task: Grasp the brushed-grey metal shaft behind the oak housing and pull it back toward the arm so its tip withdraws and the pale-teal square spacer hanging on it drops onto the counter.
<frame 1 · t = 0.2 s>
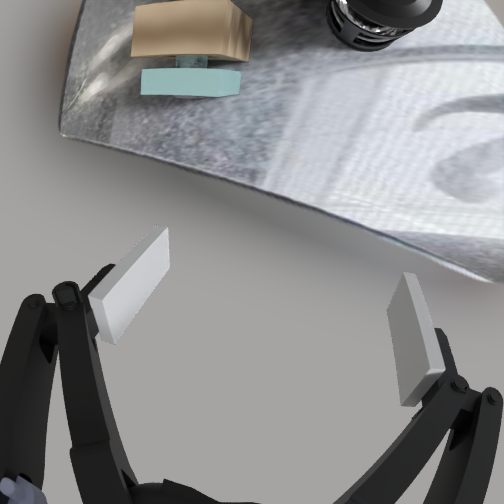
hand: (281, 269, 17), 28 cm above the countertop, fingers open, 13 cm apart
shaft: (196, 12, 26), point 7 cm above the countertop, slide at 0.0 cm, touching spacer
spacer: (206, 80, 36), point 1 cm above the countertop, touching shaft
housing: (213, 39, 34), on the countertop
french press: (365, 16, 28), on the countertop
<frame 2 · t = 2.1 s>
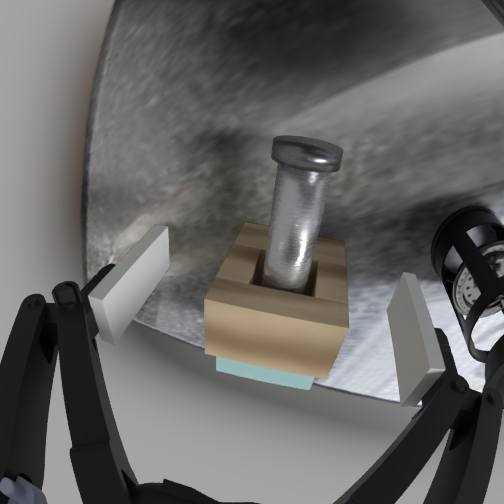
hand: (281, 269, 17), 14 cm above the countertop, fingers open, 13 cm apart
shaft: (285, 276, 25), point 7 cm above the countertop, slide at 0.0 cm, touching spacer
spacer: (279, 308, 34), point 1 cm above the countertop, touching shaft
housing: (289, 257, 32), on the countertop
french press: (471, 242, 27), on the countertop
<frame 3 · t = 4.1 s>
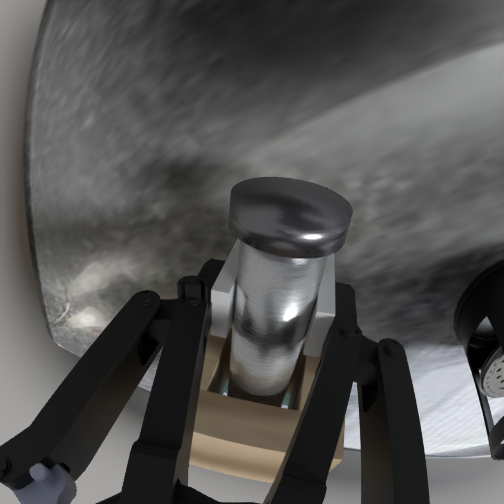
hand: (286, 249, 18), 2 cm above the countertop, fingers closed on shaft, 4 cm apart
shaft: (260, 371, 17), point 7 cm above the countertop, slide at 0.0 cm, touching gripper, spacer
housing: (272, 322, 24), on the countertop
french press: (503, 300, 19), on the countertop
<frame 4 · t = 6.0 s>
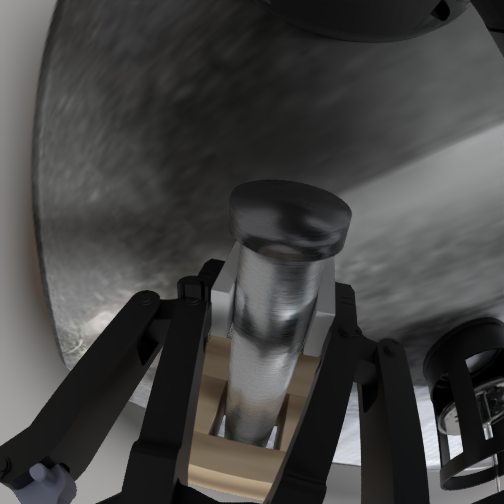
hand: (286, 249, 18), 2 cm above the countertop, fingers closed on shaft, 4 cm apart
shaft: (260, 373, 17), point 7 cm above the countertop, slide at 5.9 cm, touching gripper
housing: (263, 367, 28), on the countertop
french press: (471, 350, 22), on the countertop
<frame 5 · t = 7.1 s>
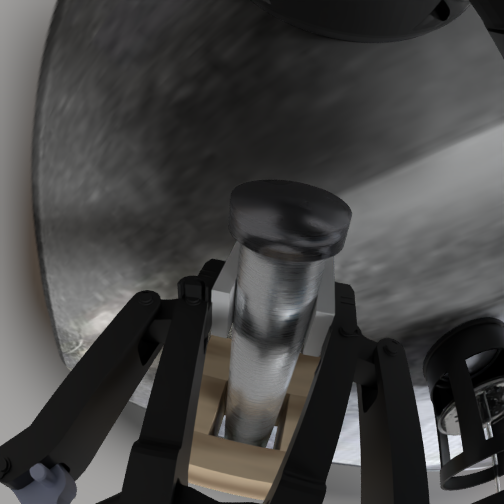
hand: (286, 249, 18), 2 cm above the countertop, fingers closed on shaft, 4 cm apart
shaft: (260, 373, 17), point 7 cm above the countertop, slide at 5.9 cm, touching gripper
housing: (263, 367, 28), on the countertop
french press: (471, 350, 22), on the countertop
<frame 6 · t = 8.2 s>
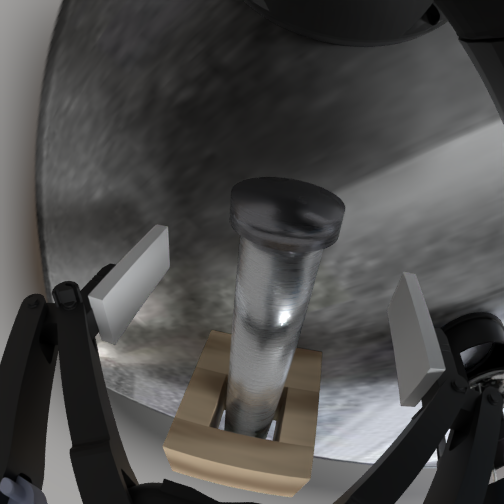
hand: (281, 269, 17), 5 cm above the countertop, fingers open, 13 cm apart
shaft: (259, 364, 18), point 7 cm above the countertop, slide at 5.9 cm
housing: (262, 362, 28), on the countertop
french press: (466, 345, 23), on the countertop
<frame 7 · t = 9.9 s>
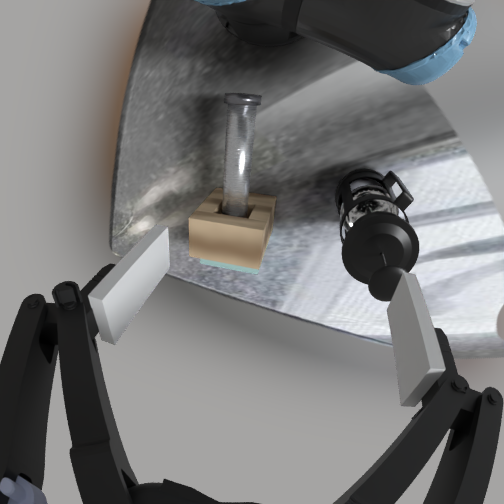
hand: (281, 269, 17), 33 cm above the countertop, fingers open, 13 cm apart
shaft: (237, 171, 41), point 7 cm above the countertop, slide at 5.9 cm
spacer: (242, 232, 54), on the countertop
housing: (244, 208, 52), on the countertop
french press: (366, 194, 46), on the countertop
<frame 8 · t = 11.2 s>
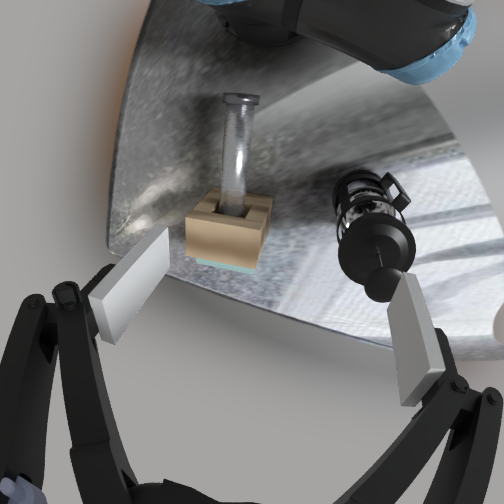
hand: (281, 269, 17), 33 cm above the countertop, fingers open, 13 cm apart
shaft: (234, 171, 41), point 7 cm above the countertop, slide at 5.9 cm
spacer: (239, 232, 54), on the countertop
housing: (241, 208, 52), on the countertop
french press: (363, 196, 46), on the countertop
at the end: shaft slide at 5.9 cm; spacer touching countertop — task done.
